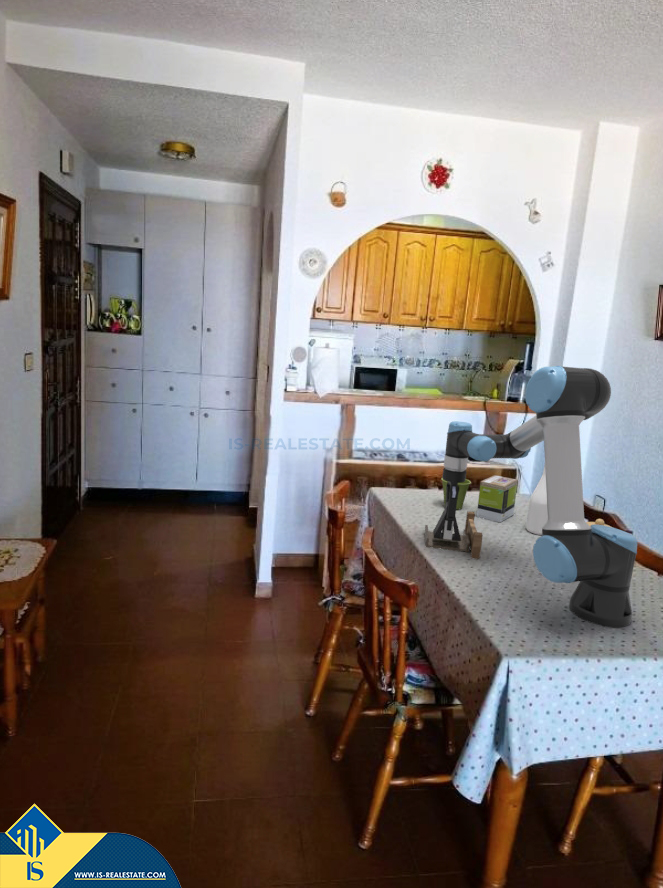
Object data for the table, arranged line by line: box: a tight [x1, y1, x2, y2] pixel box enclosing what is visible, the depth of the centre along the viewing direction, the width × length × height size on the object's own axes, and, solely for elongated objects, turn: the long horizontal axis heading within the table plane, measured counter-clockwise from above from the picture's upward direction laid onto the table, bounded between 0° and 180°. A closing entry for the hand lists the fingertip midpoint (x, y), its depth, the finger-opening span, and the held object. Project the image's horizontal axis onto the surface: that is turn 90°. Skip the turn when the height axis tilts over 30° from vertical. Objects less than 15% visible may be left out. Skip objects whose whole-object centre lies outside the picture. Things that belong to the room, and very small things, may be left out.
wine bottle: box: [525, 464, 548, 536], centre depth 223 cm, size 10×10×30 cm
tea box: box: [476, 474, 519, 523], centre depth 240 cm, size 15×10×15 cm, turn 144°
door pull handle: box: [464, 511, 483, 560], centre depth 205 cm, size 25×2×8 cm, turn 173°
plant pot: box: [441, 477, 472, 510], centre depth 248 cm, size 12×12×11 cm
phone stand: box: [432, 501, 461, 541], centre depth 205 cm, size 9×6×12 cm, turn 82°
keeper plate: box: [424, 524, 470, 553], centre depth 206 cm, size 14×14×3 cm
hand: (446, 535), depth 206 cm, fingers closed on phone stand, 6 cm apart
